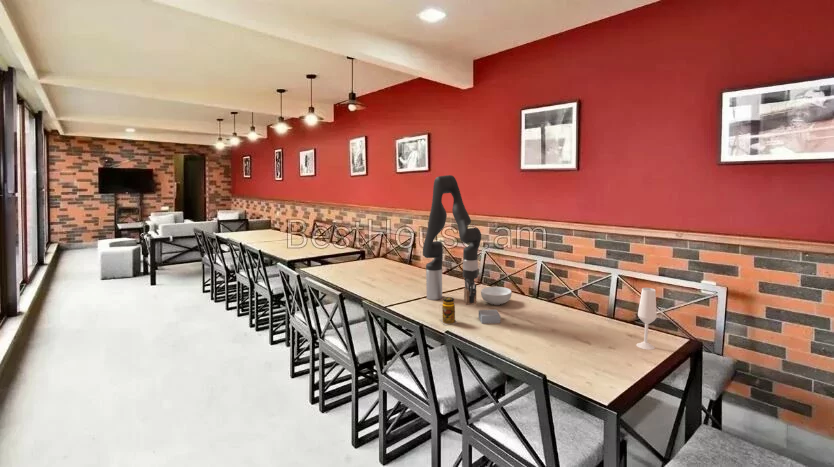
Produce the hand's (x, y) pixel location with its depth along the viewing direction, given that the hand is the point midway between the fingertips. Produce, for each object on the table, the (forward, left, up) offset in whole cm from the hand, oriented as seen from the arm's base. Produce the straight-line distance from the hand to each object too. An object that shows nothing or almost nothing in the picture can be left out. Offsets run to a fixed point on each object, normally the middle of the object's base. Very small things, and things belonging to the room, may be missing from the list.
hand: (470, 300), depth 210 cm
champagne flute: (+48, +61, -8) cm, 78 cm away
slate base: (+6, +8, -9) cm, 13 cm away
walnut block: (0, 0, -1) cm, 1 cm away
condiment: (+5, -12, -8) cm, 16 cm away
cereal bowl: (-20, +20, -9) cm, 29 cm away
